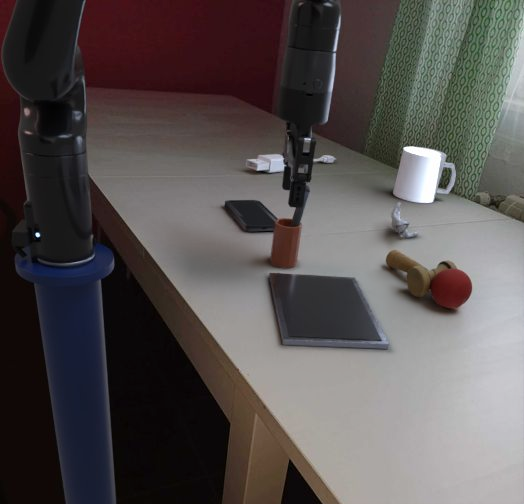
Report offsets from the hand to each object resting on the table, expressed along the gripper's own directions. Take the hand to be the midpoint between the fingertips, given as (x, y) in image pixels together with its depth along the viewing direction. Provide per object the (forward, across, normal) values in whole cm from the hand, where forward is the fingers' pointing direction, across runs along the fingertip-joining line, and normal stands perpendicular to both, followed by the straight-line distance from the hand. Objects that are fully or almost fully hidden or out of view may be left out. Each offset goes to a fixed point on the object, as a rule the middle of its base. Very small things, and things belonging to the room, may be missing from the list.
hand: (291, 197), depth 85 cm
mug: (+11, -45, +39) cm, 61 cm away
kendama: (+11, +7, +22) cm, 26 cm away
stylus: (+11, 0, 0) cm, 11 cm away
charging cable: (+11, -64, +10) cm, 66 cm away
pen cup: (+11, 0, 0) cm, 11 cm away
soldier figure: (+11, -19, +26) cm, 34 cm away
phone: (+11, -21, -4) cm, 24 cm away
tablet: (+11, +16, +4) cm, 20 cm away
